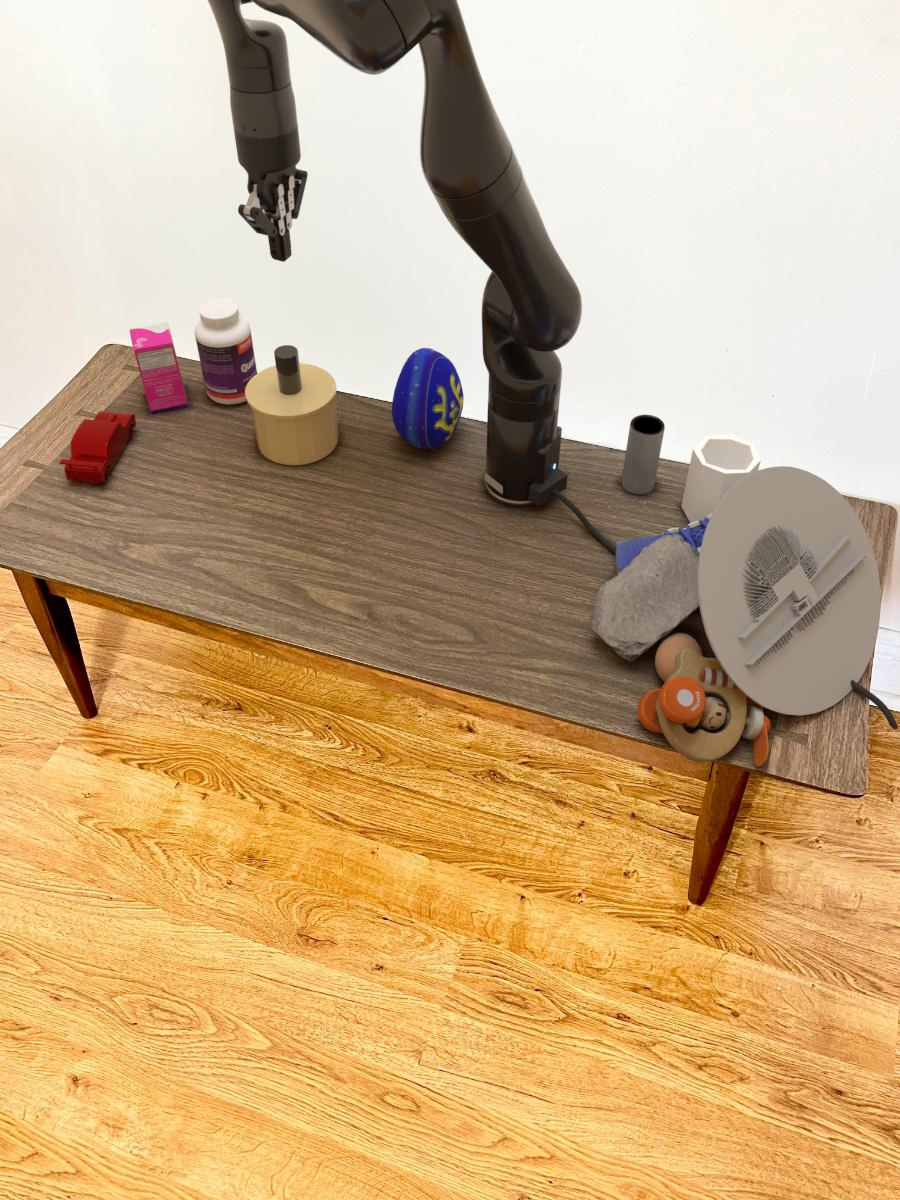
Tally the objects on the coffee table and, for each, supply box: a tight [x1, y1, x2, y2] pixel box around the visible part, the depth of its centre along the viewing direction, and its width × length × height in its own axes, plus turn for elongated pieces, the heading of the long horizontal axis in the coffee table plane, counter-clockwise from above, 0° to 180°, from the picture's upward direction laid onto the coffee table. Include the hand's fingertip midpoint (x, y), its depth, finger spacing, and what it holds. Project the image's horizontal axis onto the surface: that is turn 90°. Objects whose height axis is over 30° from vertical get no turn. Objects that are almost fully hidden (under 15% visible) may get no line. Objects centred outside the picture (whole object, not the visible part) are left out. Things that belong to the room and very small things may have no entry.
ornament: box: [391, 347, 465, 450], centre depth 150 cm, size 11×9×15 cm
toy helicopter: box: [636, 649, 771, 767], centre depth 118 cm, size 8×21×14 cm
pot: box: [250, 396, 339, 466], centre depth 153 cm, size 12×12×8 cm
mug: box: [680, 433, 762, 523], centre depth 142 cm, size 12×9×10 cm
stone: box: [589, 534, 700, 662], centre depth 125 cm, size 15×5×10 cm
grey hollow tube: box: [621, 414, 666, 496], centre depth 145 cm, size 4×4×10 cm
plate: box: [698, 465, 882, 716], centre depth 120 cm, size 28×28×1 cm
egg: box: [654, 632, 704, 683], centre depth 123 cm, size 5×5×7 cm
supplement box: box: [129, 321, 189, 414], centre depth 158 cm, size 6×6×12 cm
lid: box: [245, 344, 337, 419], centre depth 147 cm, size 13×13×7 cm
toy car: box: [58, 410, 137, 485], centre depth 151 cm, size 14×6×5 cm, turn 172°
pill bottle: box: [194, 298, 258, 406], centre depth 159 cm, size 8×8×14 cm
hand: (281, 257), depth 138 cm, fingers closed
